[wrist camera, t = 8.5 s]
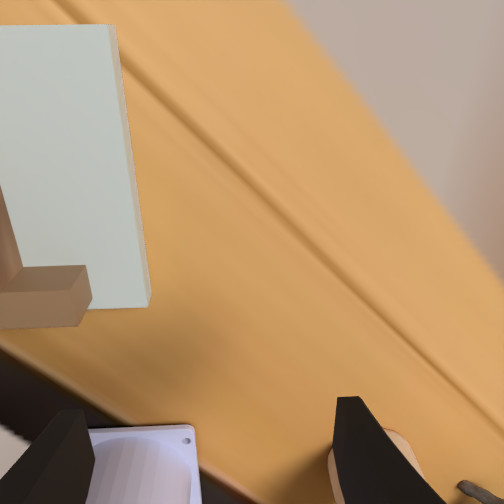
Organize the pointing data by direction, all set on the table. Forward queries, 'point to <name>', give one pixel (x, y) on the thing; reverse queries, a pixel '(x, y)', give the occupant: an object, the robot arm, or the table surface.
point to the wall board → (68, 176)
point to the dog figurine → (479, 493)
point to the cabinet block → (7, 247)
